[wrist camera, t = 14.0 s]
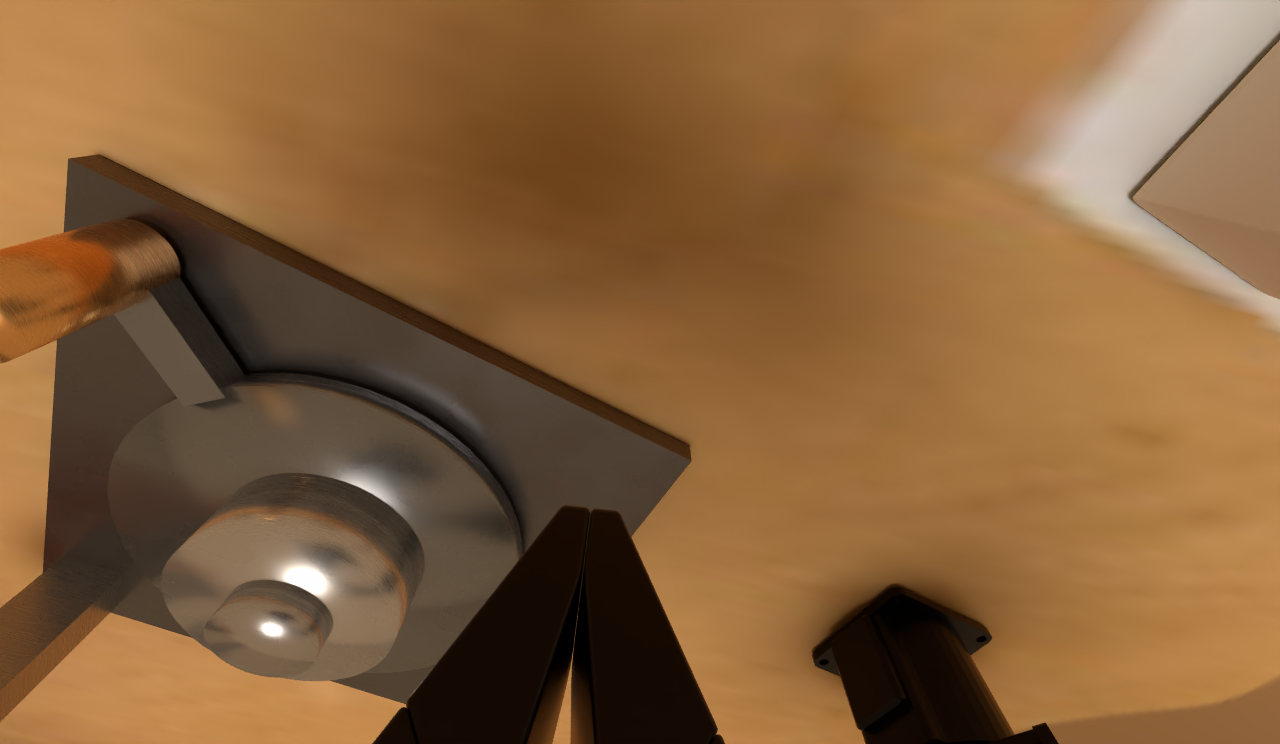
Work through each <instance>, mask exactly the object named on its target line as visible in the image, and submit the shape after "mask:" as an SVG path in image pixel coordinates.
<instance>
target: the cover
mask: <svg viewBox="0 0 1280 744" xmlns="http://www.w3.org/2000/svg"><path fill="white" fill-rule="evenodd" d="M424 569H425V559H424V552H423V549H422V546H421V543H420V541H419V539H418V537H417V535H416V534H415V532H414V531H413V529H412V528H411V526H410V525H409V524H408V523H407V521H406V520H405V519H404V518H403V517H402V516H401V515H400V514H399V513H398V512H397V511H396V510H395V509H394V508H392V507H391V506H390V505H388V504H387V503H386V502H384V501H383V500H381V499H380V498H378V497H376V496H375V495H373V494H371V493H370V492H368V491H366V490H364V489H362V488H360V487H357V486H355V485H352V484H350V483H347V482H344V481H341V480H338V479H334V478H331V477H326V476H321V475H316V474H307V473H282V474H273V475H269V476H265V477H261V478H258V479H256V480H253V481H251V482H249V483H247V484H245V485H244V486H242V487H240V488H239V489H238V490H237V491H236V492H235V493H233V494H232V495H231V496H230V497H229V498H228V499H227V500H226V501H225V502H224V503H223V504H222V505H221V506H220V507H219V509H218V510H217V511H216V512H215V513H214V514H213V515H212V516H211V517H210V518H209V519H208V520H207V521H206V522H205V523H204V524H203V525H202V526H201V527H200V528H199V529H198V530H197V531H196V532H195V533H194V534H193V535H192V536H191V537H190V538H189V539H188V540H187V541H186V542H185V543H184V544H183V545H182V546H181V547H180V548H179V549H178V550H177V551H176V552H175V553H174V554H173V555H172V556H171V557H170V559H169V560H168V561H167V563H166V565H165V567H164V569H163V571H162V577H161V591H162V594H163V598H164V601H165V603H166V605H167V607H168V610H169V611H170V613H171V614H172V616H173V617H174V619H175V620H176V621H177V622H178V623H179V625H180V626H181V627H182V628H183V629H184V630H185V631H186V632H187V633H188V634H189V635H190V636H191V637H193V638H194V639H195V640H196V641H198V642H199V643H200V644H202V645H203V646H204V647H206V648H208V649H209V650H211V651H212V652H214V653H215V654H216V655H217V656H218V657H219V658H221V659H222V660H223V661H225V662H226V663H228V664H230V665H232V666H234V667H236V668H238V669H240V670H243V671H245V672H248V673H252V674H255V675H260V676H266V677H280V678H286V679H293V680H303V681H328V680H338V679H343V678H348V677H352V676H355V675H358V674H361V673H363V672H365V671H368V670H369V669H371V668H373V667H374V666H376V665H377V664H378V663H380V662H381V661H382V660H383V659H384V658H385V657H386V656H387V654H388V653H389V651H390V649H391V648H392V646H393V643H394V641H395V639H396V637H397V635H398V632H399V630H400V628H401V626H402V623H403V621H404V619H405V617H406V614H407V612H408V610H409V608H410V605H411V603H412V601H413V599H414V596H415V594H416V592H417V590H418V588H419V585H420V583H421V581H422V578H423V575H424Z"/></svg>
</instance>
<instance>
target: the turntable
mask: <svg viewBox="0 0 1280 744" xmlns="http://www.w3.org/2000/svg"><path fill="white" fill-rule="evenodd" d="M112 315H115V317H116V318H117V319H118V321H119V322H120V323H121V324H122V326H123V327H124V328H125V330H126V331H127V332H128V334H129V335H130V336H131V338H132V339H133V340H134V342H135V343H136V344H137V346H138V347H139V348H140V349H141V351H142V352H143V353H144V355H145V356H146V357H147V359H148V360H149V361H150V363H151V364H152V365H153V367H154V368H155V369H156V371H157V372H158V373H159V375H160V376H161V377H162V378H163V380H164V381H165V382H166V384H167V385H168V386H169V388H170V389H171V390H172V392H173V393H174V394H175V397H174V398H172V399H171V400H170V401H168V402H167V403H165V404H164V405H162V406H161V407H159V408H158V409H156V410H155V411H153V412H152V413H151V414H149V415H148V416H146V417H145V418H144V419H142V420H141V421H140V422H138V423H137V424H136V425H135V426H134V427H133V429H132V430H131V431H130V432H129V433H128V434H127V435H126V436H125V437H124V438H123V440H122V442H121V444H120V446H119V447H118V449H117V451H116V453H115V454H114V457H113V460H112V464H111V467H110V470H109V476H108V491H107V493H108V500H109V507H110V513H111V516H112V519H113V522H114V525H115V528H116V531H117V533H118V535H119V537H120V539H121V541H122V543H123V545H124V546H125V548H126V550H127V552H128V553H129V554H130V556H131V557H132V559H133V560H134V562H135V563H136V565H137V566H138V567H139V569H140V570H141V571H142V572H143V573H144V574H145V575H146V577H147V578H148V579H149V580H150V581H151V582H152V583H153V584H154V585H155V586H156V587H157V588H158V589H159V590H160V591H161V577H162V571H163V569H164V567H165V565H166V563H167V561H168V560H169V559H170V557H171V556H172V555H173V554H174V553H175V552H176V551H177V550H178V549H179V548H180V547H181V546H182V545H183V544H184V543H185V542H186V541H187V540H188V539H189V538H190V537H191V536H192V535H193V534H194V533H195V532H196V531H197V530H198V529H199V528H200V527H201V526H202V525H203V524H204V523H205V522H206V521H207V520H208V519H209V518H210V517H211V516H212V515H213V514H214V513H215V512H216V511H217V510H218V509H219V507H220V506H221V505H222V504H223V503H224V502H225V501H226V500H227V499H228V498H229V497H230V496H231V495H232V494H233V493H235V492H236V491H237V490H238V489H239V488H240V487H242V486H244V485H245V484H247V483H249V482H251V481H253V480H256V479H258V478H261V477H265V476H269V475H273V474H282V473H307V474H316V475H321V476H326V477H331V478H334V479H338V480H341V481H344V482H347V483H350V484H352V485H355V486H357V487H360V488H362V489H364V490H366V491H368V492H370V493H371V494H373V495H375V496H376V497H378V498H380V499H381V500H383V501H384V502H386V503H387V504H388V505H390V506H391V507H392V508H394V509H395V510H396V511H397V512H398V513H399V514H400V515H401V516H402V517H403V518H404V519H405V520H406V521H407V523H408V524H409V525H410V526H411V528H412V529H413V531H414V532H415V534H416V535H417V537H418V539H419V541H420V543H421V546H422V549H423V552H424V559H425V569H424V575H423V578H422V581H421V583H420V585H419V588H418V590H417V592H416V594H415V596H414V599H413V601H412V603H411V605H410V608H409V610H408V612H407V614H406V617H405V619H404V621H403V623H402V626H401V628H400V630H399V632H398V635H397V637H396V639H395V641H394V643H393V646H392V648H391V649H390V651H389V653H388V654H387V656H386V657H385V658H384V659H383V660H382V661H381V662H380V663H378V664H377V665H376V666H374V667H373V668H371V669H369V670H368V671H365V672H363V673H391V672H402V671H409V670H415V669H420V668H425V667H429V666H432V665H436V664H437V662H438V661H439V660H440V658H441V657H442V656H443V655H444V653H445V652H446V651H447V650H448V648H449V647H450V646H451V645H452V643H453V642H454V641H455V640H456V638H457V637H458V636H459V635H460V633H461V632H462V631H463V630H464V628H465V627H466V626H467V625H468V623H469V622H470V621H471V620H472V618H473V617H474V616H475V614H476V613H477V612H478V611H479V609H480V608H481V607H482V606H483V604H484V603H485V602H486V601H487V599H488V598H489V597H490V596H491V594H492V593H493V592H494V591H495V589H496V588H497V587H498V586H499V584H500V583H501V582H502V581H503V579H504V578H505V577H506V576H507V574H508V573H509V572H510V570H511V569H512V568H513V567H514V565H515V564H516V563H517V562H518V560H519V559H520V558H521V557H522V555H523V554H522V538H521V533H520V528H519V523H518V521H517V518H516V515H515V513H514V510H513V507H512V505H511V503H510V501H509V499H508V498H507V496H506V494H505V492H504V490H503V489H502V487H501V485H500V484H499V483H498V481H497V480H496V479H495V477H494V476H493V475H492V473H491V472H490V471H489V469H488V468H487V467H486V466H485V465H484V464H483V463H482V462H481V461H480V460H479V458H478V457H477V456H476V455H475V454H474V453H473V452H472V451H471V450H470V449H469V448H468V447H466V446H465V445H464V444H463V443H462V442H460V441H459V440H458V439H457V438H456V437H454V436H453V435H452V434H451V433H450V432H448V431H447V430H445V429H444V428H442V427H441V426H439V425H438V424H436V423H435V422H433V421H432V420H430V419H429V418H427V417H426V416H424V415H422V414H420V413H419V412H417V411H415V410H413V409H411V408H409V407H407V406H405V405H404V404H402V403H400V402H398V401H395V400H393V399H390V398H388V397H386V396H383V395H381V394H378V393H376V392H373V391H371V390H368V389H365V388H361V387H358V386H355V385H352V384H348V383H345V382H342V381H337V380H332V379H327V378H322V377H317V376H312V375H302V374H291V373H249V374H244V373H243V371H242V370H241V368H240V367H239V366H238V364H237V363H236V361H235V360H234V358H233V357H232V355H231V354H230V352H229V351H228V349H227V348H226V346H225V345H224V343H223V342H222V340H221V339H220V337H219V336H218V334H217V333H216V331H215V330H214V328H213V327H212V325H211V324H210V322H209V321H208V319H207V318H206V316H205V315H204V313H203V312H202V310H201V309H200V308H199V306H198V305H197V303H196V302H195V300H194V299H193V297H192V296H191V294H190V293H189V291H188V290H187V288H186V287H185V285H184V284H183V282H182V281H181V279H180V264H179V260H178V257H177V255H176V253H175V251H174V250H173V248H172V247H171V245H170V244H169V243H168V242H167V241H166V239H165V238H163V237H162V236H161V235H160V234H159V233H158V232H157V231H155V230H154V229H152V228H151V227H149V226H147V225H145V224H143V223H141V222H138V221H135V220H131V219H114V220H110V221H107V222H103V223H99V224H95V225H91V226H88V227H84V228H80V229H76V230H72V231H69V232H65V233H61V234H57V235H54V236H50V237H46V238H42V239H38V240H35V241H31V242H27V243H23V244H19V245H16V246H12V247H8V248H4V249H0V363H4V362H7V361H10V360H12V359H14V358H17V357H19V356H21V355H24V354H26V353H28V352H30V351H33V350H35V349H37V348H39V347H42V346H44V345H46V344H48V343H51V342H53V341H55V340H57V339H60V338H62V337H64V336H66V335H69V334H71V333H73V332H76V331H78V330H80V329H82V328H85V327H87V326H89V325H91V324H94V323H96V322H98V321H100V320H103V319H105V318H107V317H109V316H112ZM161 592H162V591H161Z"/></svg>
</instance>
